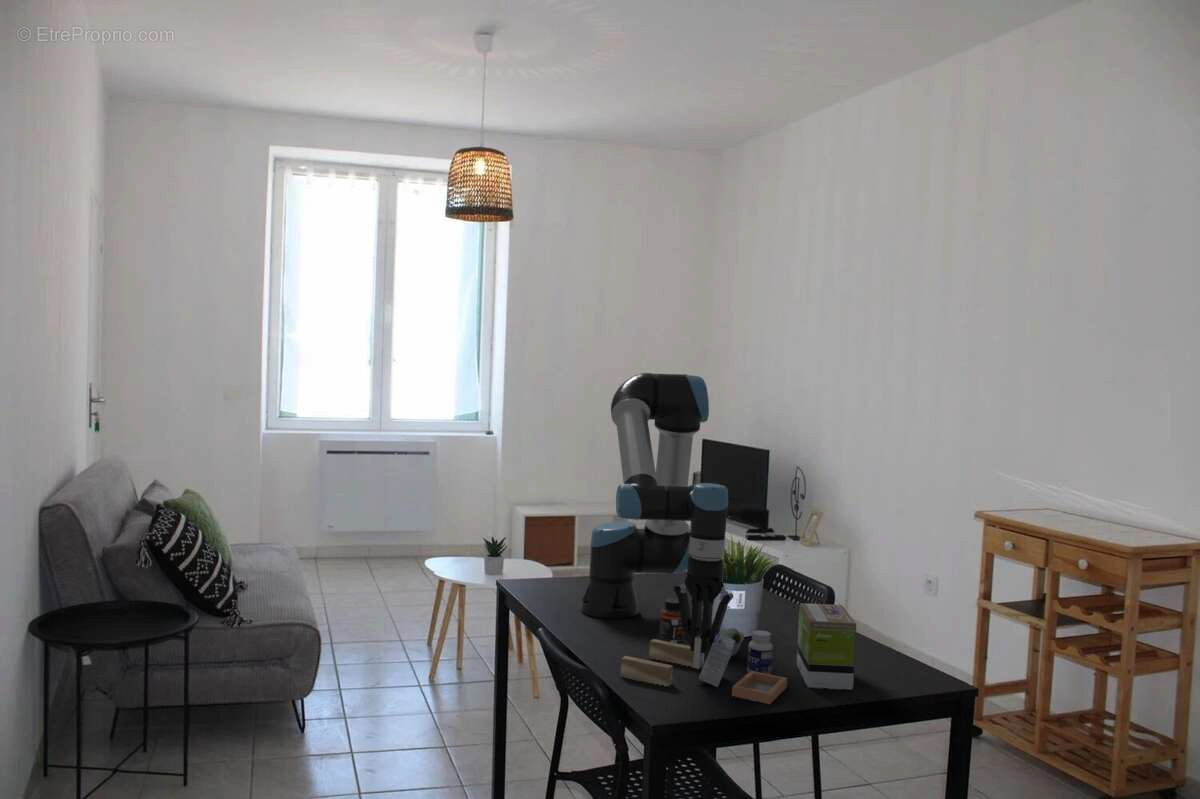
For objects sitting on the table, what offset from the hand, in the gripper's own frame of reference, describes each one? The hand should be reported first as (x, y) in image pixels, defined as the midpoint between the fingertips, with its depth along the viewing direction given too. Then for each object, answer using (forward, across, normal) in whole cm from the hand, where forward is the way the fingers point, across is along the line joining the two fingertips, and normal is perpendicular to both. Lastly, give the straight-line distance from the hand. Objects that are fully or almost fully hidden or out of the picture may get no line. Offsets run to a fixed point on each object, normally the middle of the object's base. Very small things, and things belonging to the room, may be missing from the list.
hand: (698, 666), depth 214 cm
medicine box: (+2, +2, +1) cm, 3 cm away
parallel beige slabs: (+3, -9, 0) cm, 9 cm away
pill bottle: (+3, +10, +12) cm, 16 cm away
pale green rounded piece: (+3, 0, +20) cm, 20 cm away
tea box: (+3, +22, +18) cm, 29 cm away
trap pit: (+3, +14, +1) cm, 14 cm away
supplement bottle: (+3, -14, +17) cm, 22 cm away
